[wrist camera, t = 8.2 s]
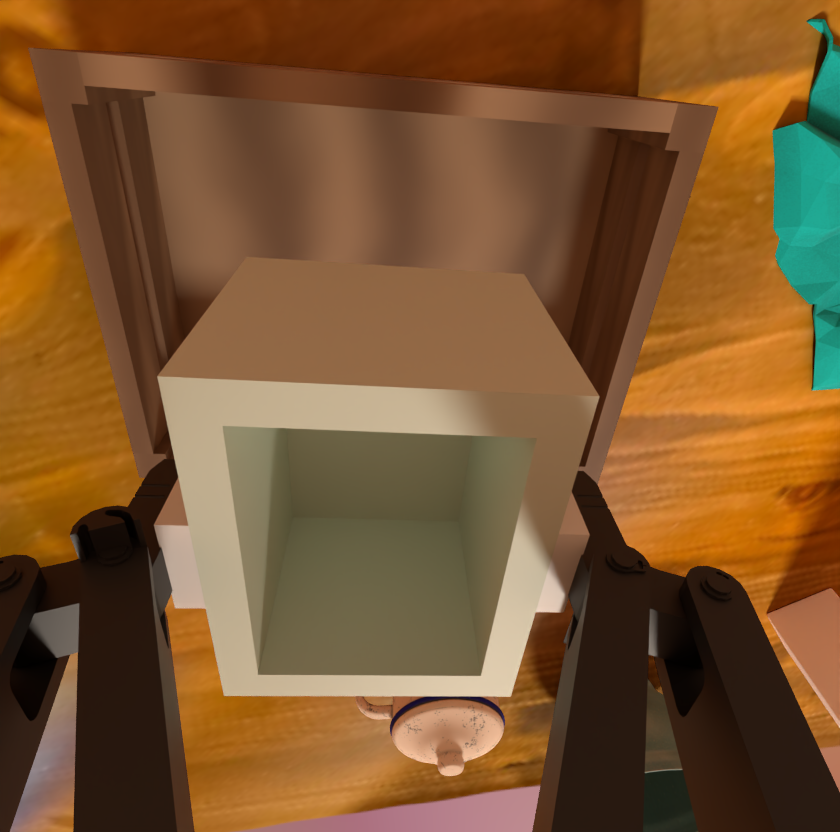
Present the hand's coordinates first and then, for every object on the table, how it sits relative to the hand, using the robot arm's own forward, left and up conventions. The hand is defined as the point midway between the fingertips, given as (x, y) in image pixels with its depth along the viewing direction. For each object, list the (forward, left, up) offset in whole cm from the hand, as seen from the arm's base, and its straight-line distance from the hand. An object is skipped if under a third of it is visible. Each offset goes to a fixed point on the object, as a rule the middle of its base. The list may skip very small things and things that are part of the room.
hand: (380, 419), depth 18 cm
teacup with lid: (+5, -34, -16) cm, 38 cm away
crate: (0, 0, -16) cm, 16 cm away
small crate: (0, 0, 0) cm, 0 cm away
